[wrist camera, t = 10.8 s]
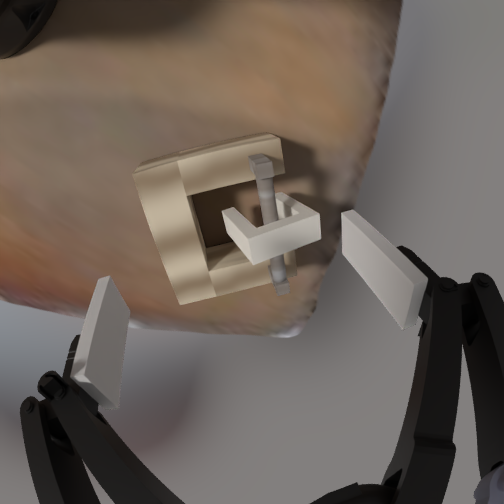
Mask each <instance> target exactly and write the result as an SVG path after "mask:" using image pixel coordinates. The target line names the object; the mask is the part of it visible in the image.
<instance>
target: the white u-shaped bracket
mask: <svg viewBox="0 0 504 504" xmlns="http://www.w3.org/2000/svg"><path fill="white" fill-rule="evenodd" d="M275 198H276V205H277V211H278V218H279V220H278V221H275V222H272V223H269V224H266V225H264V226H261V227H258V228H256V227H255V226H253V225H252V224H251V223H250V222H249V221H248V220H247V219H246V218H245V217H244V216H243V215H242V214H240V213H239V212H238V211H237V210H236V209H235V208H234V207H232V208H229V209H226V210H223V211H222V214H223V218H224V223H225V227H226V231H227V233H228V235H229V236H230V237H231V238H232V240H233V241H234V242H235V243H236V245H237V246H238V247H239V248H240V249H241V251H242V252H243V253H244V254H245V256H246V257H247V258H248V259H249V260H250V262H251V263H252V264H253V265H255V264H258V263H260V262H263V261H266V260H268V259H271V258H273V257H276V256H279V255H281V254H284V253H286V252H289V251H292V250H294V249H297V248H299V247H302V246H304V245H307V244H310V243H312V242H315V241H317V240H320V239H321V228H320V214H319V213H317V212H316V211H314V210H312V209H310V208H309V207H307V206H305V205H304V204H302V203H300V202H298V201H297V200H295V199H293V198H291V197H290V196H288V195H286V194H284V193H282V192H279V193H276V194H275Z"/></svg>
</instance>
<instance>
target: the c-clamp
mask: <svg viewBox="0 0 504 504" xmlns="http://www.w3.org/2000/svg"><path fill="white" fill-rule="evenodd" d="M284 173H285V168H284V161H283V155H282V148H281V141H280V138H278V137H276V136H274V135H272V134H270V133H267V132H265V133H260V134H255V135H249V136H244V137H239V138H235V139H230V140H225V141H221V142H216V143H212V144H208V145H204V146H200V147H196V148H192V149H188V150H184V151H180V152H176V153H173V154H169V155H166V156H162V157H159V158H155V159H152V160H149V161H145V162H142V163H141V164H140V165H139V167H138V168H137V169H136V170H135V172H134V173H133V174H132V175H133V178H134V182H135V185H136V188H137V191H138V194H139V197H140V200H141V203H142V206H143V209H144V212H145V215H146V218H147V221H148V224H149V227H150V229H151V232H152V235H153V238H154V241H155V243H156V246H157V249H158V251H159V254H160V257H161V259H162V262H163V264H164V267H165V270H166V272H167V275H168V277H169V280H170V282H171V285H172V287H173V289H174V292H175V294H176V297H177V299H178V301H179V304H180V305H182V304H187V303H191V302H195V301H199V300H203V299H208V298H212V297H216V296H220V295H224V294H228V293H232V292H236V291H240V290H244V289H248V288H252V287H256V286H260V285H263V284H267V283H271V282H272V283H273V286H274V288H275V290H276V293H277V295H278V296H280V295H283V294H287V293H290V288H289V282H288V280H287V278H290V277H294V276H297V266H296V256H295V250H292V251H289V252H286V253H284V254H281V255H279V256H276V257H273V258H271V259H268V260H266V261H263V262H260V263H258V264H255V265H253V264H252V263H251V262H250V260H249V259H248V258H247V257H246V256H245V254H244V253H243V252H242V251H241V249H240V248H239V247H238V246H237V245H236V243H235V242H234V241H233V242H229V243H225V244H221V245H217V246H213V247H209V248H206V246H205V243H204V239H203V236H202V232H201V229H200V225H199V222H198V218H197V215H196V211H195V207H194V204H193V200H192V196H191V195H192V194H196V193H200V192H204V191H208V190H212V189H216V188H220V187H224V186H229V185H233V184H237V183H242V182H246V181H251V180H255V179H256V183H257V188H258V194H259V199H260V205H261V211H262V217H263V223H264V225H266V224H269V223H272V222H275V221H278V220H279V218H278V211H277V205H276V198H275V191H274V185H273V178H272V177H274V175H279V174H284Z"/></svg>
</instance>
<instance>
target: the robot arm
mask: <svg viewBox="0 0 504 504" xmlns="http://www.w3.org/2000/svg"><path fill="white" fill-rule="evenodd" d="M56 2H57V0H0V59H3V58H7V57H9V56H11V55H13V54H15V53H17V52H18V51H20V50H21V49H22V48H24V47H25V46H26V45H27V44H28V43H29V42H30V41H31V40H32V39H33V38H34V37H35V36H36V35H37V34H38V33H39V31H40V30H41V29H42V28H43V26H44V25H45V23H46V22H47V20H48V19H49V17H50V15H51V13H52V12H53V9H54V7H55V5H56ZM341 219H342V254H343V255H344V256H345V257H346V259H347V260H348V261H349V262H350V263H351V265H352V266H353V267H354V268H355V270H356V271H357V272H358V273H359V274H360V276H361V277H362V278H363V279H364V281H365V282H366V283H367V284H368V286H369V287H370V288H371V289H372V291H373V292H374V293H375V295H376V296H377V297H378V298H379V300H380V301H381V302H382V304H383V305H384V306H385V308H386V309H387V310H388V311H389V313H390V314H391V315H392V317H393V318H394V319H395V320H396V322H397V323H398V325H399V326H400V327H401V329H402V330H405V329H407V328H409V327H411V326H413V325H415V324H416V321H417V318H418V315H419V317H420V318H421V319H422V320H423V322H422V325H421V328H420V331H419V334H418V336H420V341H419V349H418V355H417V361H416V367H415V373H414V378H413V383H412V388H411V393H410V398H409V402H408V407H407V411H406V415H405V418H404V422H403V426H402V430H401V433H400V437H399V440H398V443H397V447H396V450H395V453H394V456H393V458H392V461H391V463H390V464H389V466H388V469H387V471H386V473H385V475H384V478H383V481H382V483H381V485H379V484H362V485H358V483H357V482H356V483H354V484H352V485H349V486H346V487H344V488H341V489H338V490H336V491H333V492H330V493H328V494H326V495H324V496H322V497H321V498H319V499H317V500H316V501H314V502H312V503H310V504H442V502H443V499H444V495H445V492H446V489H447V486H448V482H449V478H450V475H451V471H452V467H453V463H454V458H455V453H456V447H455V444H454V443H453V441H452V439H453V433H454V427H455V421H456V414H457V406H458V399H459V389H460V376H461V360H462V344H463V349H464V353H465V358H466V362H467V367H468V372H469V378H470V383H471V390H472V396H473V403H474V411H475V421H476V431H477V446H478V462H479V471H480V476H481V481H480V482H479V484H478V486H477V488H476V490H475V491H474V498H475V499H476V503H475V504H504V302H503V300H502V297H501V295H500V293H499V291H498V289H497V286H496V285H495V282H494V281H493V279H492V278H491V277H490V276H489V275H487V274H484V273H475V274H474V275H473V276H472V278H471V281H470V282H469V283H461V284H458V283H457V282H455V281H454V280H453V279H451V278H447V277H441V278H440V277H439V276H438V275H437V274H436V273H435V272H434V271H433V270H432V269H431V268H430V267H429V266H428V265H427V264H426V263H424V262H422V260H421V259H420V258H419V257H417V255H416V254H415V253H414V252H413V251H411V250H410V249H408V248H406V247H404V246H399V247H395V246H394V245H393V244H392V243H391V242H389V241H388V240H387V239H386V238H385V237H384V236H383V235H382V234H381V233H380V232H378V231H377V230H376V229H375V228H374V227H373V226H372V225H370V224H369V223H368V222H367V221H366V220H365V219H364V218H362V217H361V216H360V215H359V214H358V213H357V212H355V211H354V210H350V211H346V212H342V213H341ZM129 317H130V310H129V308H128V307H127V305H126V303H125V301H124V300H123V298H122V296H121V295H120V293H119V291H118V289H117V287H116V286H115V284H114V282H113V280H112V278H111V276H107V277H103V278H100V279H98V282H97V285H96V288H95V291H94V294H93V297H92V300H91V303H90V306H89V309H88V312H87V315H86V318H85V322H84V325H83V329H82V332H81V334H80V335H76V337H75V338H74V340H73V341H72V343H71V346H70V349H69V354H68V357H67V361H66V364H65V369H64V373H63V377H60V375H59V374H58V373H57V372H56V371H48V372H47V373H45V374H44V375H43V376H42V377H41V378H40V380H39V382H38V392H39V393H40V394H42V395H43V396H44V397H45V398H46V399H44V400H42V401H40V402H39V401H38V400H37V399H36V398H35V397H32V396H30V397H27V398H26V399H25V400H24V401H23V403H22V404H21V407H20V417H21V425H22V431H23V438H24V443H25V448H26V454H27V458H28V463H29V467H30V472H31V476H32V479H33V483H34V487H35V490H36V493H37V497H38V500H39V503H40V504H101V503H100V501H99V499H98V497H97V495H96V493H95V491H94V488H93V486H92V484H91V481H90V479H89V477H88V474H87V471H86V469H85V466H84V464H83V461H84V462H85V464H86V466H87V467H88V468H89V470H90V471H91V473H92V474H93V476H94V477H95V478H96V480H97V481H98V482H99V484H100V485H101V487H102V488H103V489H104V490H105V492H106V493H107V494H108V496H109V497H110V498H111V499H112V500H113V502H114V503H115V504H185V503H184V502H182V500H180V499H179V498H178V497H177V496H176V495H175V494H174V493H172V492H171V491H170V490H169V489H168V488H167V487H166V486H165V485H164V484H163V483H162V482H161V481H160V480H159V479H158V478H157V477H156V476H155V475H154V474H153V473H151V471H150V470H149V469H148V468H147V467H146V466H145V465H144V464H143V463H142V462H141V461H140V460H139V459H138V458H137V456H136V455H135V454H134V453H133V452H132V451H131V450H130V449H129V447H127V445H126V444H125V443H124V442H123V441H122V439H121V438H120V437H119V436H118V434H117V433H116V432H115V431H114V430H113V428H112V427H111V426H110V425H109V423H108V422H107V421H106V419H105V418H104V417H103V415H102V414H101V413H100V412H99V411H98V404H99V405H100V406H101V407H103V408H104V409H105V410H111V409H119V401H120V389H121V378H122V368H123V360H124V351H125V344H126V337H127V329H128V323H129ZM82 459H83V461H82Z"/></svg>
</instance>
